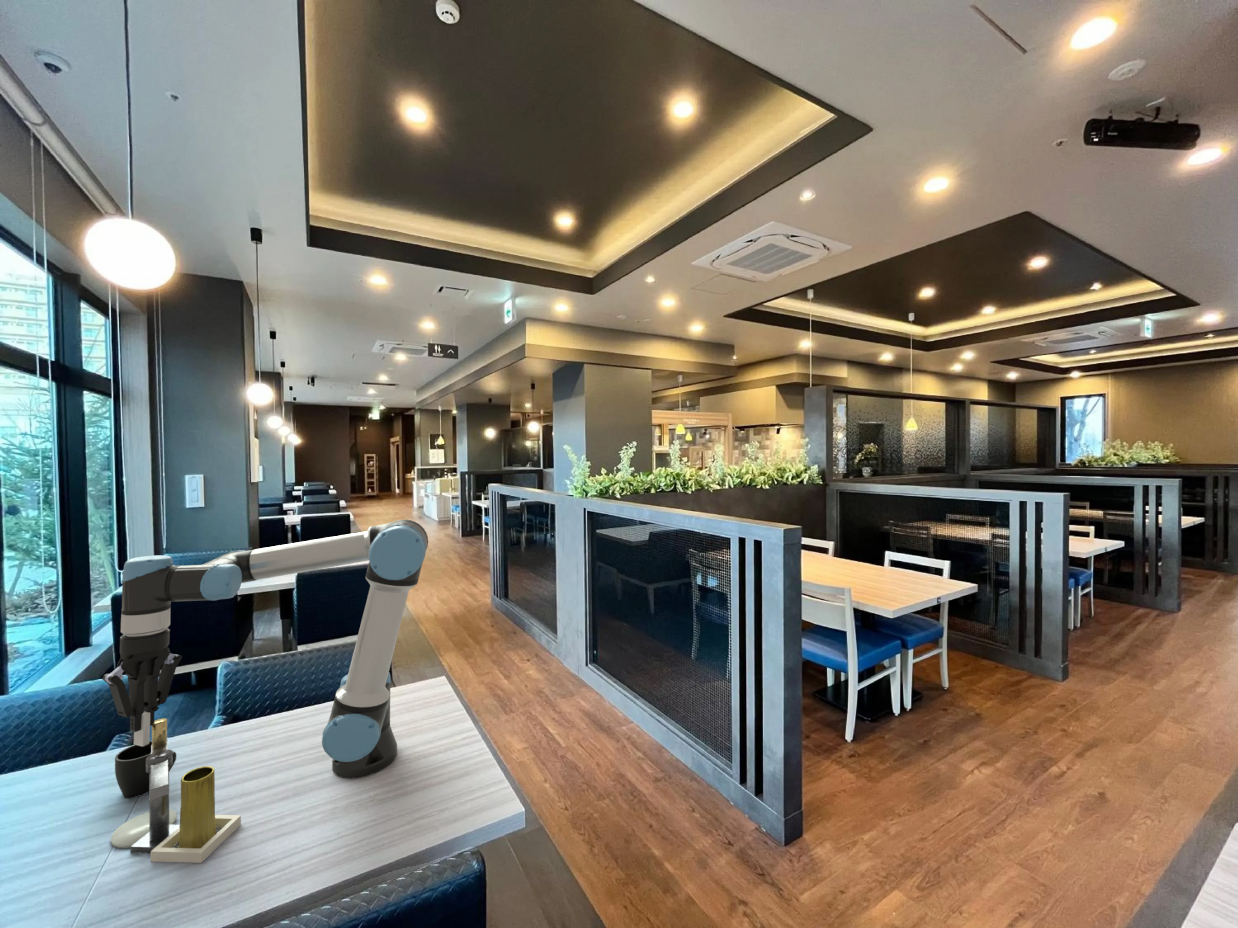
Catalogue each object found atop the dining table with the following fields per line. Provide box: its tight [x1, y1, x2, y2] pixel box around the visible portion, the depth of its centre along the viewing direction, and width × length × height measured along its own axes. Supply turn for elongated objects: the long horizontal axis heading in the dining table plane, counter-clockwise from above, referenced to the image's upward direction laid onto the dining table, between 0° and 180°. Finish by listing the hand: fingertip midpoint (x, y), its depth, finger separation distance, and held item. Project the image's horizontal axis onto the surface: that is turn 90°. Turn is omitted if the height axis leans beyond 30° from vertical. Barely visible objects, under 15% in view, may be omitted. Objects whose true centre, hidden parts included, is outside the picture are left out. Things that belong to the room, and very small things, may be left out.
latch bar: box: [146, 717, 173, 800], centre depth 100 cm, size 19×4×7 cm, turn 43°
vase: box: [177, 765, 218, 849], centre depth 101 cm, size 6×6×14 cm
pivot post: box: [129, 768, 180, 854], centre depth 102 cm, size 6×6×15 cm
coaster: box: [110, 808, 177, 849], centre depth 105 cm, size 10×10×1 cm
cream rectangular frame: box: [150, 814, 242, 864], centre depth 102 cm, size 10×10×2 cm
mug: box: [114, 740, 177, 799], centre depth 117 cm, size 8×12×10 cm
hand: (141, 743), depth 103 cm, fingers closed
